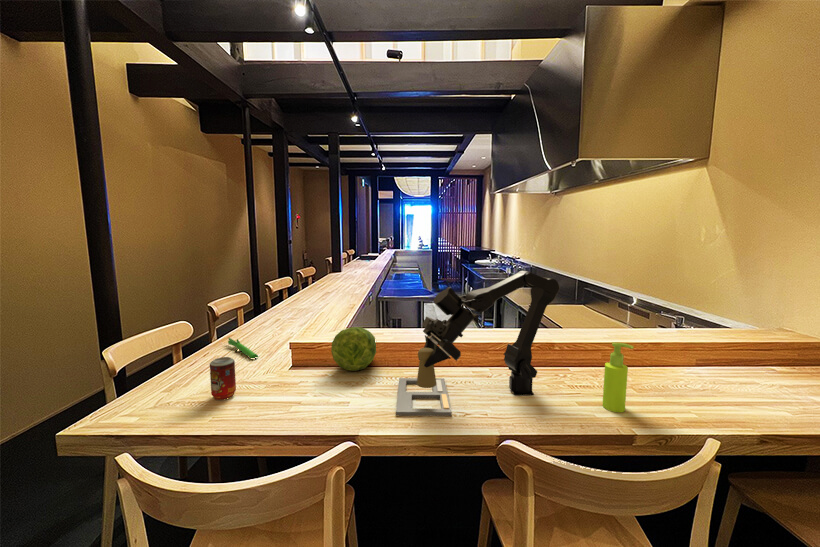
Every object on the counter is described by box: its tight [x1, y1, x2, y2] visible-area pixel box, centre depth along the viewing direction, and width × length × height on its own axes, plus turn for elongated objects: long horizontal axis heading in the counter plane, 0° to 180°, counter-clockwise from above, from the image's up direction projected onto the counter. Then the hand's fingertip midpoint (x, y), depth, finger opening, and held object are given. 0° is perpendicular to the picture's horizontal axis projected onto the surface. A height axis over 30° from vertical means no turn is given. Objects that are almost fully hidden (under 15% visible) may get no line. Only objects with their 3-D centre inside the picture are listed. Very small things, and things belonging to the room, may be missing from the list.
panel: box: [395, 377, 452, 417], centre depth 112 cm, size 16×24×2 cm, turn 179°
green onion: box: [227, 337, 259, 359], centre depth 156 cm, size 5×3×30 cm
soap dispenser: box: [601, 342, 635, 413], centre depth 104 cm, size 6×7×20 cm
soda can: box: [209, 356, 237, 401], centre depth 112 cm, size 7×7×12 cm
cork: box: [416, 347, 436, 389], centre depth 106 cm, size 6×6×11 cm
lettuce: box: [330, 326, 377, 372], centre depth 140 cm, size 17×23×16 cm
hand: (422, 363), depth 105 cm, fingers closed on cork, 5 cm apart
